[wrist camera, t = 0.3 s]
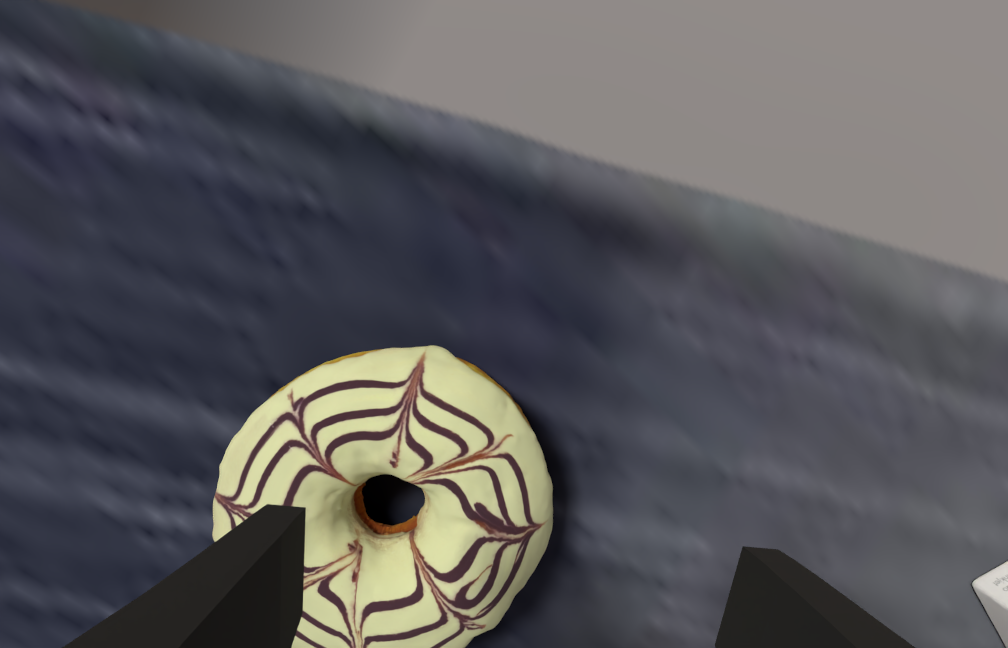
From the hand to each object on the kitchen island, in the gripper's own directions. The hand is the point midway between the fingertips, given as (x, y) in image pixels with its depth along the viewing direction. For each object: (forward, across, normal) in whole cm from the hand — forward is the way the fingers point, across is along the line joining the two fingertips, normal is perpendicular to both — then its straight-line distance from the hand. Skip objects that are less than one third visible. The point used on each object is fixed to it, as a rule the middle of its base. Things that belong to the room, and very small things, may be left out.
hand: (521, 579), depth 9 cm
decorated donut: (+10, +3, +5) cm, 12 cm away
